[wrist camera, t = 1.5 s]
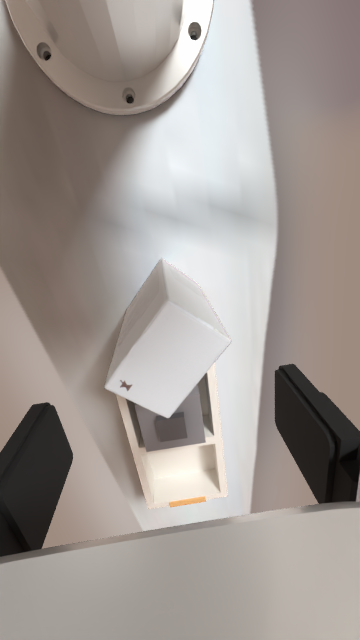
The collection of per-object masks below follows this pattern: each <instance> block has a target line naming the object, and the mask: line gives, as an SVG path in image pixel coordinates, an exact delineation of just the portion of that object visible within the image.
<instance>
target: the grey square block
mask: <svg viewBox="0 0 360 640" xmlns="http://www.w3.org/2000/svg"><path fill="white" fill-rule="evenodd" d="M134 405H135V409H136V413H137V417H138V421H139V425H140V429H141V433H142V437H143V441H144V444H145V448H146V452H150V451H157V450H163V449H169V448H175V447H181V446H188V445H194V444H200V443H206V440H205V433H204V425H203V417H202V410H201V402H200V394H199V390H198V385H196V386H195V387H194V388H193V390H192V391H191V392H190V393H189V395H188V396H187V397H186V398H185V400H184V401H183V402H182V403H181V404H180V406H179V407H178V408H177V409H176V410H175V412H174V413H173V414H172V415H171V417H170V418H166V417H163V416H161V415H159V414H157V413H154V412H152V411H150V410H148V409H146V408H144V407H142V406H140V405H138V404H136V403H135V404H134Z"/></svg>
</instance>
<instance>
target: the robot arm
mask: <svg viewBox="0 0 360 640" xmlns="http://www.w3.org/2000/svg"><path fill="white" fill-rule="evenodd" d="M5 2H6V5H7V8H8V11H9V13H10V16H11V19H12V22H13V24H14V26H15V28H16V30H17V32H18V34H19V36H20V38H21V39H22V41H23V43H24V45H25V47H26V48H27V50H28V51H29V53H30V54H31V56H32V57H33V58H34V60H35V61H36V63H37V64H38V65H39V67H40V68H41V69H42V70H43V72H44V73H45V74H46V75H47V76H48V77H49V78H50V80H51V81H52V82H53V83H54V84H56V85H57V86H58V87H59V88H60V89H61V90H62V91H63V92H65V93H66V94H67V95H68V96H69V97H71V98H73V99H74V100H76V101H77V102H79V103H81V104H82V105H84V106H86V107H89V108H91V109H94V110H96V111H99V112H102V113H108V114H114V115H130V114H138V113H141V112H144V111H147V110H150V109H153V108H155V107H156V106H158V105H160V104H161V103H163V102H165V101H166V100H168V99H169V98H170V97H171V96H172V95H173V94H174V93H175V92H176V91H178V90H179V89H180V88H181V87H182V85H183V84H184V82H185V81H186V80H187V78H188V77H189V75H190V74H191V73H192V71H193V69H194V67H195V65H196V63H197V61H198V59H199V57H200V55H201V53H202V50H203V47H204V44H205V41H206V38H207V34H208V30H209V26H210V21H211V17H212V12H213V6H214V0H5ZM191 35H195V36H196V38H197V40H196V41H195V40H192V39H191V38H190V36H191ZM47 55H51V57H50V59H49V60H47V61H46V56H47ZM129 96H130V97H132V98H133V99H134V101H133V103H131V104H129V103H127V98H128V97H129ZM275 423H276V426H277V429H278V431H279V432H280V434H281V436H282V438H283V440H284V442H285V443H286V445H287V447H288V449H289V451H290V452H291V454H292V456H293V458H294V460H295V461H296V463H297V465H298V467H299V469H300V471H301V472H302V474H303V476H304V478H305V480H306V481H307V483H308V485H309V487H310V489H311V490H312V492H313V494H314V496H315V498H316V499H317V501H318V503H319V504H315V505H308V506H301V507H294V508H287V509H280V510H273V511H267V512H260V513H254V514H248V515H241V516H235V517H229V518H223V519H216V520H210V521H204V522H198V523H192V524H186V525H180V526H173V527H167V528H161V529H155V530H149V531H143V532H137V533H131V534H125V535H119V536H114V537H108V538H102V539H96V540H90V541H84V542H79V543H73V544H67V545H61V546H55V547H50V548H44V549H42V546H43V543H44V540H45V537H46V534H47V532H48V529H49V526H50V523H51V520H52V517H53V515H54V511H55V509H56V506H57V503H58V500H59V498H60V495H61V492H62V489H63V486H64V484H65V481H66V478H67V475H68V472H69V469H70V467H71V464H72V460H73V453H72V450H71V448H70V445H69V442H68V440H67V437H66V435H65V432H64V429H63V427H62V424H61V422H60V419H59V416H58V414H57V411H56V409H55V407H54V406H53V405H50V404H49V403H41V404H34V405H32V406H31V408H30V409H29V411H28V412H27V414H26V415H25V417H24V418H23V420H22V421H21V423H20V424H19V426H18V427H17V429H16V430H15V432H14V433H13V435H12V436H11V437H10V439H9V440H8V442H7V444H6V445H5V446H4V448H3V450H2V451H1V452H0V640H360V431H359V430H358V429H357V428H356V427H355V426H354V425H353V424H352V423H351V421H350V420H348V418H347V417H346V416H345V415H344V414H343V413H342V412H341V411H340V410H339V408H338V407H337V406H336V405H335V404H334V403H333V402H332V401H331V400H330V399H329V398H328V397H327V395H325V394H324V393H321V392H319V391H318V390H317V389H316V388H315V387H314V385H312V383H311V382H310V381H309V380H308V379H307V378H306V377H305V375H304V374H303V373H302V372H301V371H300V370H299V369H298V368H297V367H296V366H295V365H294V364H289V365H283V366H279V370H276V371H275Z"/></svg>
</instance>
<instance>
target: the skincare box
mask: <svg viewBox="0 0 360 640" xmlns="http://www.w3.org/2000/svg"><path fill="white" fill-rule="evenodd" d="M231 342H232V340H231V338H230V337H229V335H228V333H227V331H226V330H225V328H224V326H223V325H222V323H221V321H220V320H219V318H218V316H217V314H216V313H215V311H214V310H213V308H212V306H211V304H210V303H209V301H208V299H207V298H206V296H205V294H204V293H203V291H202V289H201V287H200V286H199V284H198V283H197V282H196V281H194V280H193V279H191V278H190V277H188V276H187V275H186V274H184V273H183V272H181V271H180V270H179V269H177V268H176V267H174V266H173V265H172V264H170V263H169V262H167V261H166V260H164V259H163V258H161V259H160V260H159V262H158V263H157V265H156V266H155V268H154V269H153V271H152V272H151V274H150V275H149V277H148V278H147V280H146V281H145V283H144V284H143V286H142V287H141V289H140V290H139V292H138V293H137V295H136V296H135V298H134V299H133V301H132V302H131V304H130V306H129V307H128V308H127V310H126V313H125V317H124V320H123V324H122V327H121V331H120V334H119V337H118V341H117V344H116V347H115V351H114V354H113V358H112V361H111V364H110V367H109V370H108V374H107V378H106V382H105V386H104V388H105V389H106V390H109V391H111V392H113V393H115V394H117V395H119V396H121V397H124V398H126V399H128V400H130V401H132V402H134V403H136V404H138V405H140V406H142V407H144V408H146V409H148V410H150V411H152V412H154V413H157V414H159V415H161V416H163V417H166V418H170V417H171V415H172V414H173V413H174V412H175V410H176V409H177V408H178V407H179V406H180V404H181V403H182V402H183V401H184V400H185V398H186V397H187V396H188V395H189V393H190V392H191V391H192V390H193V388H194V387H195V386H196V385H197V384H198V382H199V381H200V380H201V379H202V377H203V376H204V375H205V374H206V372H207V371H208V370H209V369H210V367H211V366H212V365H213V364H214V362H215V361H216V360H217V359H218V358H219V356H220V355H221V354H222V353H223V352H224V350H225V349H226V348H227V347H228V346H229V345H230V344H231Z"/></svg>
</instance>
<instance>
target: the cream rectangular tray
mask: <svg viewBox="0 0 360 640" xmlns="http://www.w3.org/2000/svg"><path fill="white" fill-rule="evenodd" d="M197 385H198V390H199V394H200V402H201V410H202V417H203V425H204V433H205V440H206V443H200V444H194V445H188V446H181V447H175V448H169V449H163V450H157V451H150V452H146V448H145V444H144V441H143V437H142V433H141V429H140V425H139V421H138V417H137V413H136V409H135V405H134V404H135V403H134V402H132V401H130V400H128V399H126V398H124V397H121V396H119V395H117V394H116V397H117V401H118V404H119V408H120V411H121V415H122V419H123V422H124V426H125V429H126V433H127V436H128V440H129V443H130V447H131V450H132V454H133V457H134V461H135V464H136V468H137V472H138V475H139V479H140V482H141V486H142V489H143V493H144V496H145V500H146V503H147V507H148V509H154V508H160V507H166V506H170V507H175V506H181V505H187V504H193V503H200V502H206V500H208V499H214V498H220V497H227V496H228V493H227V483H226V473H225V462H224V452H223V442H222V431H221V421H220V411H219V401H218V390H217V380H216V370H215V363H214V364H213V365H212V366H211V367H210V369H209V370H208V371H207V372H206V374H205V375H204V376H203V377H202V379H201V380H200V381H199V382H198V384H197Z"/></svg>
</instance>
